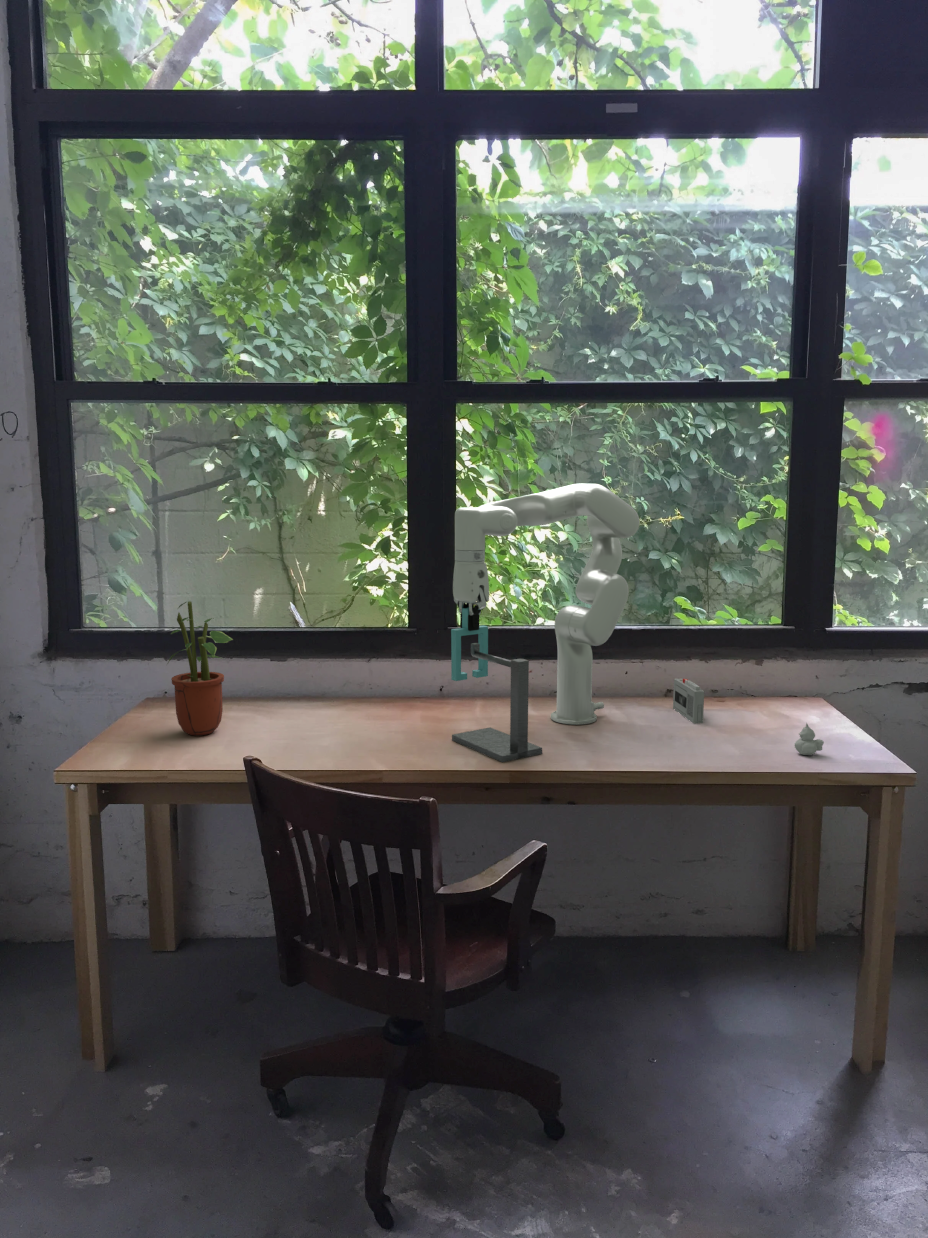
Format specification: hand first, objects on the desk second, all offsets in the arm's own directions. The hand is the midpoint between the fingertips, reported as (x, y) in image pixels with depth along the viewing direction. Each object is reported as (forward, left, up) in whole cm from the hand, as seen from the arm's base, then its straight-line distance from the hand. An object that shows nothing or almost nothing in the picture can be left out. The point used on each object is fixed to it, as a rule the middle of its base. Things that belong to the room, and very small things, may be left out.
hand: (469, 628), depth 229 cm
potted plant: (+56, -44, -28) cm, 77 cm away
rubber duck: (-59, +59, -28) cm, 88 cm away
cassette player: (-62, +18, -28) cm, 70 cm away
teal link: (0, 0, -13) cm, 13 cm away
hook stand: (0, +12, -28) cm, 30 cm away
